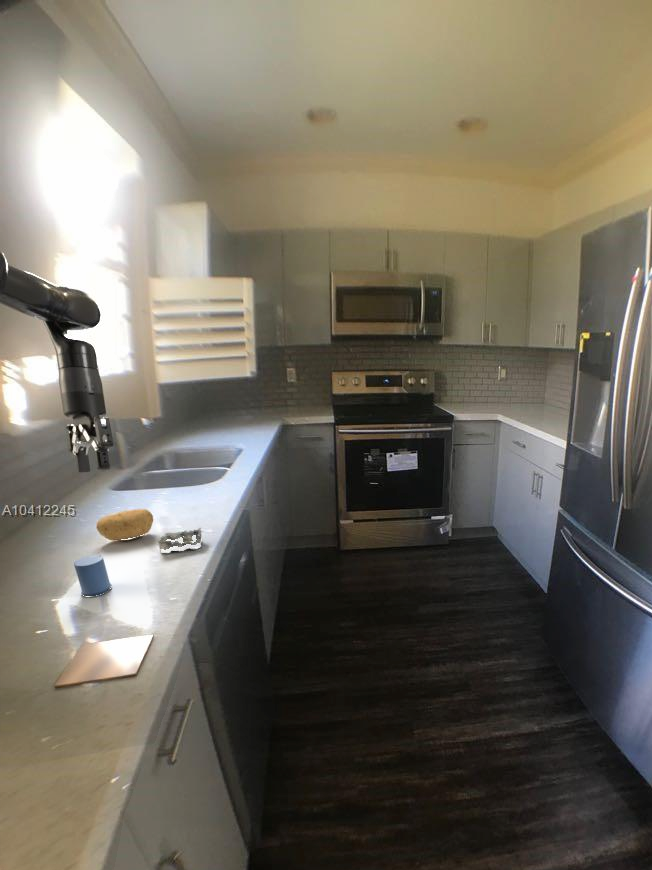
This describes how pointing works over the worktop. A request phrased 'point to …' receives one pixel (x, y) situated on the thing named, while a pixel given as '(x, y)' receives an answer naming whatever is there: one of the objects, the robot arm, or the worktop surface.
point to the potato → (125, 524)
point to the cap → (92, 575)
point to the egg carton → (186, 539)
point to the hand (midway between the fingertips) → (93, 470)
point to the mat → (106, 661)
